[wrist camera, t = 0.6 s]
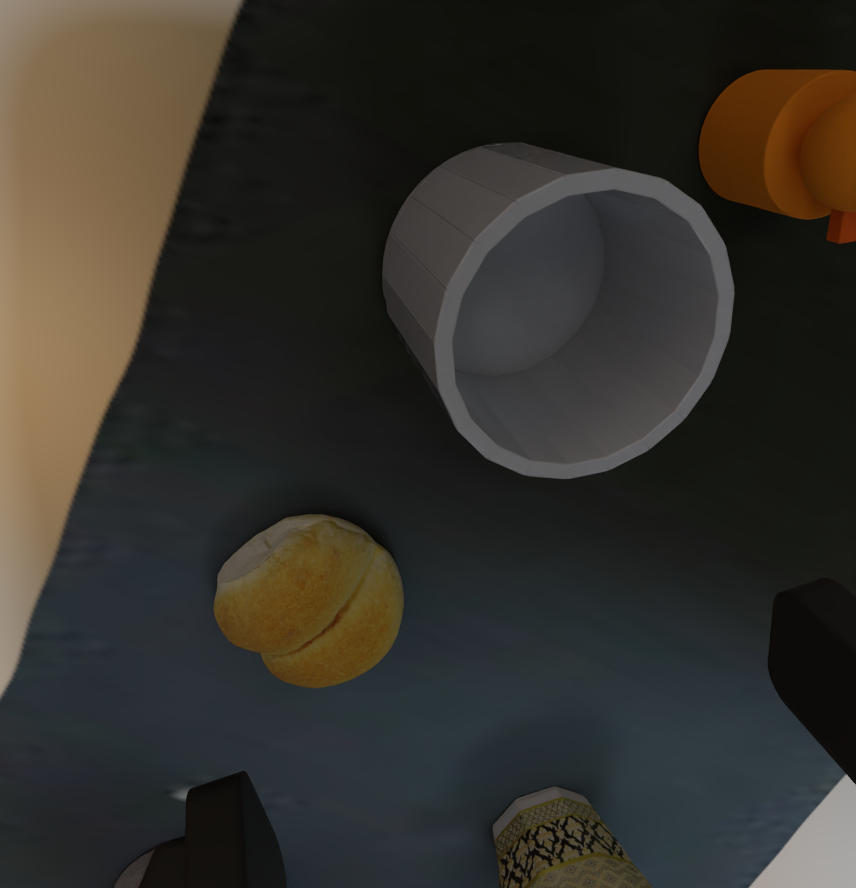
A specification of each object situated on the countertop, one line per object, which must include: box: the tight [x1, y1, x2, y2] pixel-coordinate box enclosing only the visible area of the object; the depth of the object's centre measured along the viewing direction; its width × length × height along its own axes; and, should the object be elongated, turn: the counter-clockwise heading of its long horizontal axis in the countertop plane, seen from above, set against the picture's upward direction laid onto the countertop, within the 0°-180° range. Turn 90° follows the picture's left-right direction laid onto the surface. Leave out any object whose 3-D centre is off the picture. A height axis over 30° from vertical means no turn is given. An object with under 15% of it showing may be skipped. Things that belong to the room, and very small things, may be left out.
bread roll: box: [214, 514, 404, 688], centre depth 35 cm, size 8×9×4 cm
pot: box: [382, 142, 734, 479], centre depth 28 cm, size 10×10×9 cm
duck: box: [699, 70, 856, 244], centre depth 28 cm, size 6×5×8 cm
